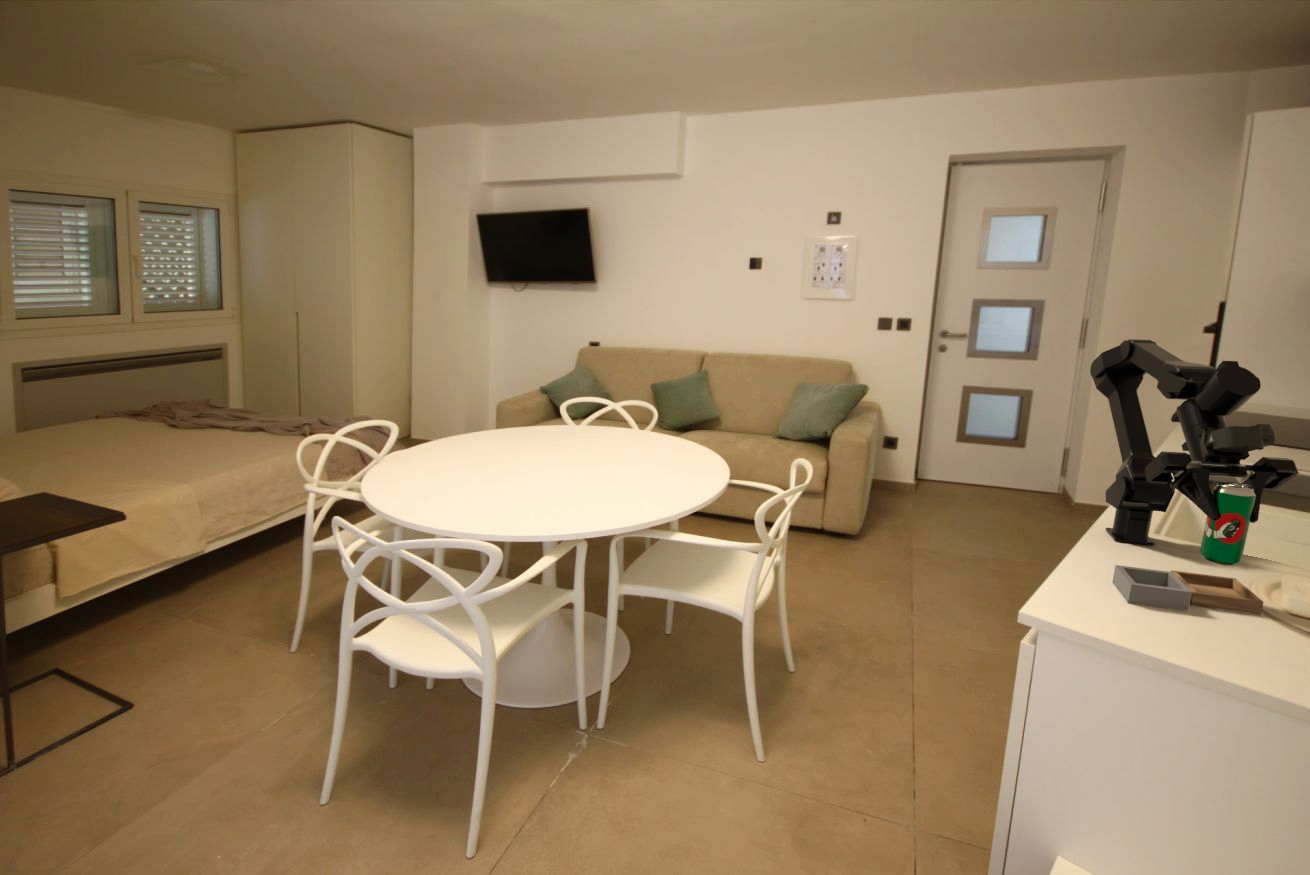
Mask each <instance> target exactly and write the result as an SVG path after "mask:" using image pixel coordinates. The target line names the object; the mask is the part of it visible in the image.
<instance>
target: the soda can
mask: <svg viewBox="0 0 1310 875" xmlns="http://www.w3.org/2000/svg"><path fill="white" fill-rule="evenodd" d="M1253 490H1254V487H1252V486H1250V485H1247V484H1243V483H1238V482H1237V481H1228V480H1221V481H1217V484H1216V485H1215V486H1214V487H1213V488H1212V490H1211V492H1212V495H1213V498H1214V501H1215V504H1216V507H1217V511H1218V519H1216V520H1211V519H1210V518H1209V517H1208V516H1207V515H1206V519H1205V520H1206V521H1205V526H1204V529H1203V535H1202V539H1201V543H1200V548H1199V554H1200V556H1201V557H1202V558H1203V559H1204V560H1206V561H1208V562H1210V563H1213V564H1217V565H1223V566H1236V565H1238V564H1239V563H1241V562H1242V558H1243V555H1244V551H1245V550H1244V549H1245V546H1246V542H1247V537H1248V533H1249V528H1250V524H1251V522H1250V520H1251V516H1252V511H1253V507H1254V503H1255V498H1256V495H1255V493H1254V491H1253Z"/></svg>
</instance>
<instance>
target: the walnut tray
mask: <svg viewBox="0 0 1310 875" xmlns="http://www.w3.org/2000/svg"><path fill="white" fill-rule="evenodd" d="M1170 572H1173V573H1174V574H1175V576H1176V577H1177V578H1178V579H1179V580H1180V581H1181V582H1182V583H1183V584H1184V585H1185V586H1186V587H1187V588H1188V589H1189V590H1190V591H1191V592H1192V596H1191V601H1190V605H1191V606H1196V607H1201V608H1202V607H1203V608H1211V609H1217V610H1225V611H1230V612H1231V611H1232V612H1237V613H1240V612H1241V613H1247V614H1255V615H1261V614H1262V610H1263V606H1264V604H1265V602H1264V601H1263V600H1262V599H1261V598H1260V597H1258V596H1257V595H1256V594H1255V593H1254V592H1252V590H1251V589H1249V588H1248V587H1247V586H1245V584H1243V583H1242V581H1241V582H1240V581H1239V580H1238V579H1237V578H1235V577H1226V576H1219V575H1213V574H1211V575H1210V574H1204V573H1195V572H1188V571H1187V572H1185V571H1179V570H1170ZM1190 605H1189V606H1190Z"/></svg>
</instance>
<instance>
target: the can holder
mask: <svg viewBox="0 0 1310 875" xmlns="http://www.w3.org/2000/svg"><path fill="white" fill-rule="evenodd" d="M1112 576H1113V577H1112V581H1111V582H1112V584H1113V585H1114V587H1115V588H1116V590H1118V592H1119V593H1120V595H1121V597H1123V598H1124V599H1125V601H1126V602H1127V603H1128V604H1132V605H1133V604H1135V605H1142V606H1147V607H1156V608H1165V609H1170V610H1179V611H1184V612H1188V611H1189V610H1190V601H1191V596H1192V592H1191V591H1190V590H1189V589H1188V588H1187V587H1186V586H1185V585H1184V584H1183V583H1182V582H1181V581H1180V580H1179V579H1178V578H1177V577H1176V576H1175V574H1174V573H1173V572H1171V571H1168V570H1158V569H1152V568H1151V569H1150V568H1143V567H1135V566H1127V565H1118V564H1115V565H1114V572H1113V575H1112Z"/></svg>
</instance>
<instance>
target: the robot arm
mask: <svg viewBox="0 0 1310 875" xmlns="http://www.w3.org/2000/svg"><path fill="white" fill-rule="evenodd" d="M1089 371H1090V372H1089V373H1090V376H1091V378H1092V380H1093V383H1094V385H1095V388H1096V390H1097V391H1099V392H1100V393H1101V394H1102V395H1103V396H1105V397H1106V398H1107V400H1108V404H1109V409H1110V413H1111V417H1112V422H1113V426H1114V430H1115V434H1116V439H1117V443H1118V448H1119V452H1120V453H1119V454H1120V457H1121V461H1122V462H1121V465H1120V467H1119V468H1118V471H1117V473H1115V474H1116V475H1115V481H1114V482H1113V483H1112V484H1111V485H1110V486H1109V487H1107V489H1106V490H1105V503H1107V504H1109V505H1110V506H1112V507H1113V508H1114V509H1115V512H1114V518H1113V524H1112V527H1105V532H1106V533H1107V534H1109V535H1110V537H1111V538H1112V539H1113V540H1114V541H1116V542H1123V543H1133V544H1142V545H1151V546H1154V545H1155V544H1156V543H1155V541H1154V539H1152V538H1151V537H1150V536H1149V534H1150V529H1151V523H1152V518H1153V514H1154V511H1155V512H1161V513H1166V512H1167V510H1168V508H1169V506H1170V503H1171V501H1172V499H1173V497H1174V494H1175V493H1176V490H1177V491H1178V492H1179V493H1181V494H1182V495H1183V496H1185V497H1186V498H1187V499H1188V500H1190V501H1191V502H1192V503H1193V504H1194V505H1196V507H1197V508H1198V509H1200V511H1202V513H1204V514H1205V515H1206V517H1207V516H1208V517H1209V518H1210V519H1211V520H1216V519H1218V511H1217V507H1216V504H1215V501H1214V498H1213V495H1212V490H1211V489H1212V488H1211V486H1210V483H1209V482H1210V477H1220V478H1221V477H1223V478H1224V477H1225V478H1235V480H1236V482H1238V483H1243V484H1247V485H1250V486H1252V487H1254V490H1253V491H1254V493H1255V495H1256V498H1255V503H1254V507H1253V511H1252V516H1251V520H1250V524H1255V523H1257V522H1258V520H1259V517H1260V508H1261V500H1262V495H1263V491H1273V490H1277V489H1278V488H1280V487H1282V486H1283V485H1284V484H1286V483H1287V482H1289V481H1291V480H1292V479H1293V478H1294V477H1296V476H1297V475H1298V474H1299V473H1300V471H1299V470H1298V467H1297V464H1296V463H1295V461H1294V460H1293V459H1291V458H1287V457H1273V456H1269V457H1267V456H1262V457H1261V458H1259V459H1258V460H1257V461H1256V462H1254V463H1253V464H1252V465H1251V464H1242V463H1241V461H1243V460H1246V459H1248V458H1249V457H1250V454H1249V452H1252V451H1256V450H1259V451H1261V450H1264V448H1265V447H1269V446H1272V445H1274V443H1276V438H1275V437H1276V436H1275V432H1274V430H1273V428H1272V426H1271V424H1270V423H1269V424H1268V423H1267V424H1266V423H1257V424H1256V425H1251V426H1243V425H1242V426H1241V425H1240V426H1239V425H1230V426H1228V424H1227V420H1226V418H1225V416H1230V415H1233V414H1235V413H1236V412H1237V411H1238V410H1239V409H1240V408H1242V407H1243V406H1244V405H1245V404H1246V403H1247V402H1248V401H1249V400H1250V399H1251V398H1253V397H1254V396H1255V394H1257V393H1258V392H1259V390H1260V389H1261V385H1262V384H1261V380H1260V378H1259V377H1257V375H1256V374H1254V373H1253V372H1252V371H1250V370H1249V369H1247V368H1245V367H1242V366H1240V365H1239V361H1238V360H1237V361H1236V360H1222V361H1221V362H1220V363H1219V364H1218V365H1217V367H1214V366H1211V365H1206V364H1201V363H1195V362H1189V361H1184V360H1182V359H1181V358H1179V357H1178V356H1176V355H1174V354H1172V353H1171V352H1169V351H1167V350H1166V349H1164V348H1162V347H1161V346H1159V345H1158V344H1157V342H1155V341H1153V340H1151V339H1139V338H1138V339H1133V338H1131V339H1127V340H1126V339H1125V340H1123V341H1122V342H1121V343H1120V344H1119V345H1118V346H1115V347H1112V348H1110V349H1107V350H1105V351H1103V352H1101V353H1100V354H1099V355H1098V356H1097V357H1096V358H1095V359H1094V360H1093V361H1092V363H1091V365H1090V370H1089ZM1146 374H1148V375H1149V376H1151V377H1152V378H1153V379H1155V380H1156V381H1157V385H1156V388H1157V389H1158V391H1159V392H1160V393H1161V394H1162V396H1163V397H1164V398H1166V399H1168V400H1178V401H1181V400H1182V401H1183V402H1182V403H1181V404H1180V405H1178V406H1177V407H1176V410H1175V411H1174V413H1173V414H1172V415H1171V418H1170V421H1171V422H1172V423H1180V427H1181V430H1182V434H1183V437H1184V441H1185V442H1183V443H1182V444H1181V448H1182V451H1183V452H1182V451H1181V452H1178V451H1177V452H1176V451H1163V450H1162V451H1160V453H1159V454H1157V455H1156V456H1154V454H1153V451H1152V450H1153V449H1152V446H1151V442H1150V437H1149V435H1148V430H1147V426H1146V423H1145V418H1144V415H1143V410H1142V406H1141V403H1140V399H1139V395H1138V389H1139V387H1140V385H1141V384H1142V381H1143V380H1144V376H1145V375H1146ZM1186 452H1188V453H1186Z"/></svg>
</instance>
